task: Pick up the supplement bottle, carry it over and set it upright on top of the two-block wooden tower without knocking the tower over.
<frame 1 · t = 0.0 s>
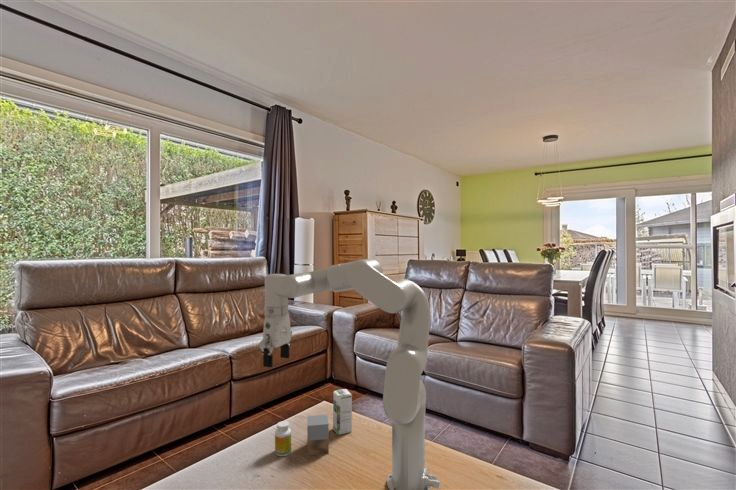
hand: (276, 361, 122), 31 cm above the table, tool pointing down, fingers open, 9 cm apart
syrup box: (342, 430, 138), on the table
supplement bottle: (283, 452, 124), on the table
tower top block: (317, 434, 126), point 5 cm above the table, touching tower bottom block
tower bottom block: (317, 448, 126), on the table, touching tower top block
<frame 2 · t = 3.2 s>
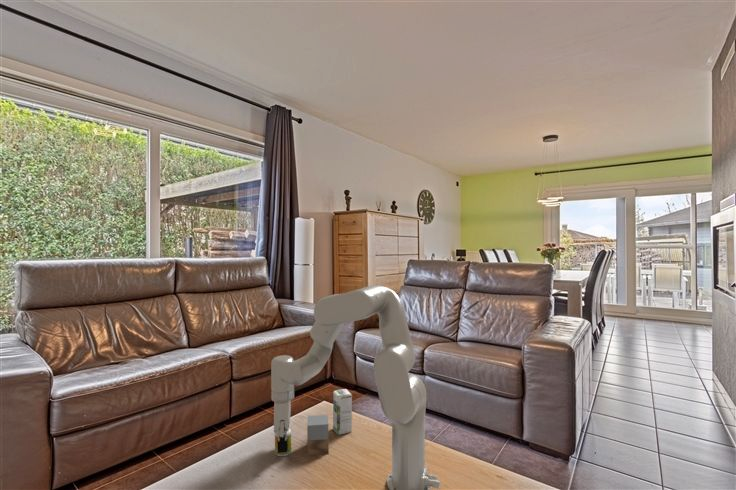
hand: (283, 446, 124), 2 cm above the table, tool pointing down, fingers closed on supplement bottle, 5 cm apart
supplement bottle: (283, 452, 124), on the table, touching gripper
everything else where it was.
when the fingers open (13 cm above the table, at t = 8.4 s): supplement bottle drops 1 cm, resting on tower top block.
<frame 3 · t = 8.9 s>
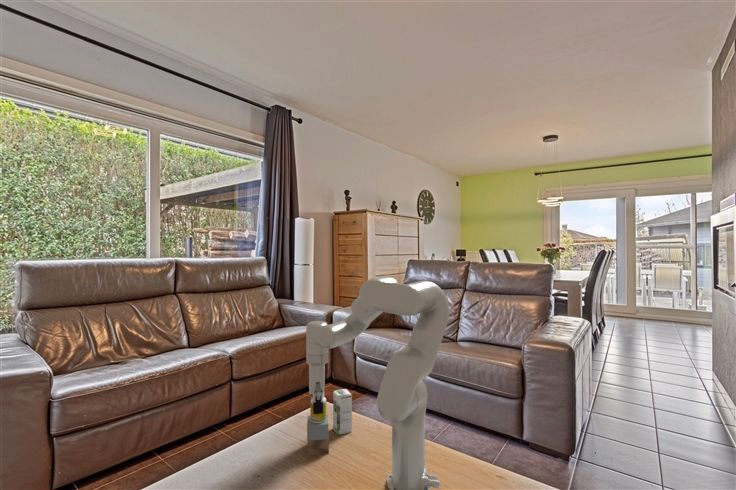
hand: (317, 407, 126), 14 cm above the table, tool pointing down, fingers open, 9 cm apart
supplement bottle: (318, 420, 126), point 10 cm above the table, touching tower top block
tower top block: (317, 434, 126), point 5 cm above the table, touching supplement bottle, tower bottom block
everything else where it was.
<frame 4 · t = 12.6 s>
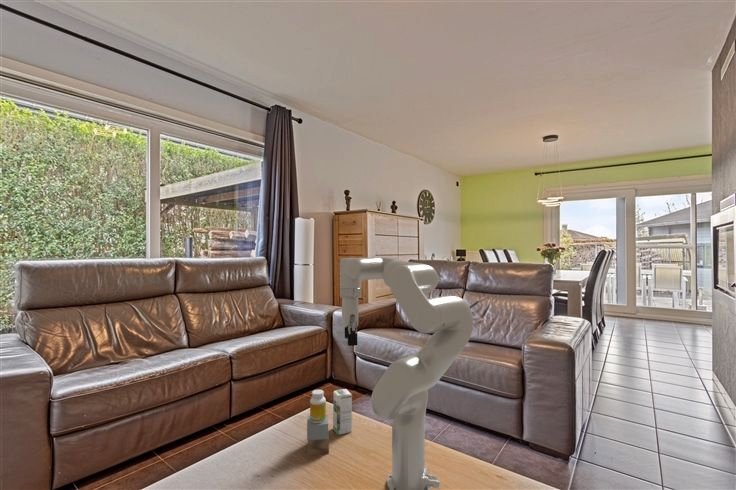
hand: (350, 341, 128), 36 cm above the table, tool pointing down, fingers open, 9 cm apart
nothing on the table moved.
at the end: supplement bottle 0.2 cm off-centre on the tower top block, point 4.8 cm above the tower top block's base; tower top block 0.1 cm off-centre on the tower bottom block, point 5.0 cm above the tower bottom block's base; supplement bottle tilted 0° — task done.
